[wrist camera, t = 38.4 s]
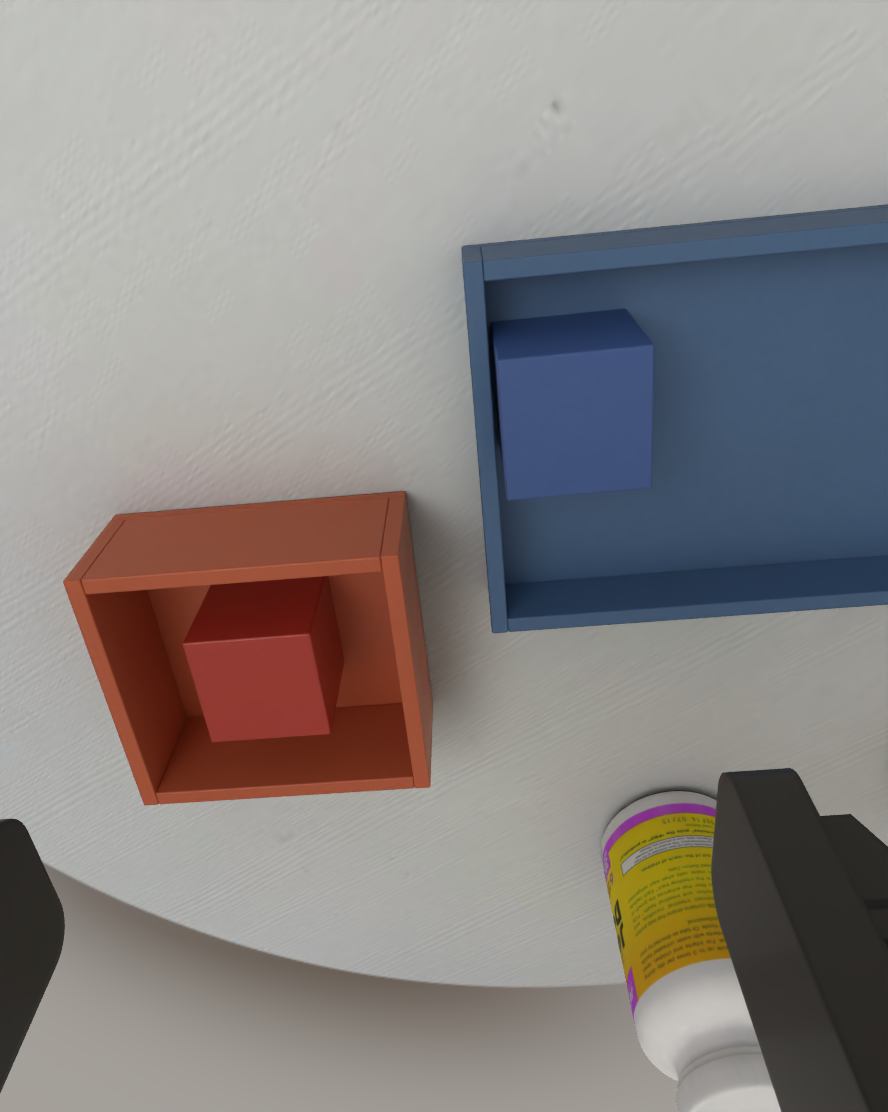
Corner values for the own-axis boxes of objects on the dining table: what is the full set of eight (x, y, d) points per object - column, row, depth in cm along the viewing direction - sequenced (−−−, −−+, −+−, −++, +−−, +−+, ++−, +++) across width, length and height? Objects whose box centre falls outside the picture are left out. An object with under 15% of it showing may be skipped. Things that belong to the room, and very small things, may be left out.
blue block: (499, 447, 30) (506, 501, 26) (490, 321, 28) (496, 360, 24) (626, 435, 30) (652, 488, 26) (626, 307, 28) (655, 344, 24)
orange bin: (179, 721, 37) (143, 806, 33) (114, 514, 32) (62, 581, 28) (433, 704, 37) (430, 787, 32) (405, 490, 32) (398, 555, 27)
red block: (238, 669, 35) (211, 743, 31) (213, 576, 33) (181, 643, 29) (345, 661, 35) (331, 734, 31) (327, 568, 33) (309, 633, 29)
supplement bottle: (575, 816, 40) (623, 1104, 29) (707, 764, 38) (813, 1046, 27) (633, 900, 43) (698, 1191, 32) (759, 854, 41) (875, 1144, 30)
